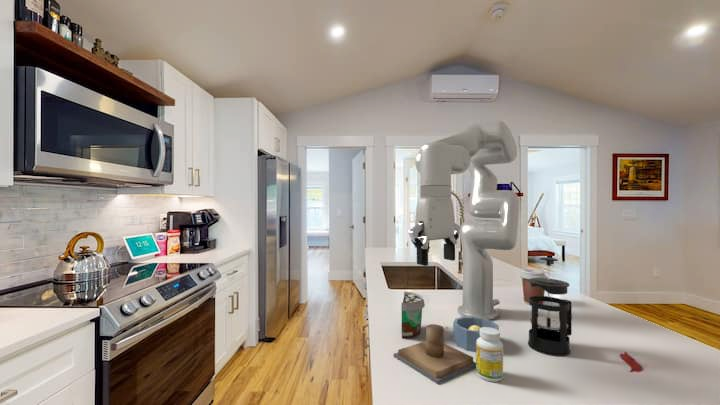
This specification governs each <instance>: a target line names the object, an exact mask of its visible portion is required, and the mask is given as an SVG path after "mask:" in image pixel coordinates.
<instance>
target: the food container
mask: <svg viewBox="0 0 720 405" xmlns="http://www.w3.org/2000/svg"><path fill="white" fill-rule="evenodd" d="M402 299H403V300H402V302H401V339H407V340H408V339H414V338H418V337H419V336H420V335H421V330H422V318H423V308H425V305H426V304H425V300H424V298H423V296H422V295H420V294H418V293H416V292H412V291H411V292H410V291H404V292H403V298H402Z"/></svg>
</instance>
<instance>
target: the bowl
mask: <svg viewBox="0 0 720 405" xmlns="http://www.w3.org/2000/svg"><path fill="white" fill-rule="evenodd" d="M482 327H490V328H494V329H497V330H498V331H499V332H500V330H499V328H500V327H499V324H498V323H496V322H494V321H493V320H487V319H484V318H478V317H465V316H460V317H457V318H455V319H454V320H453V323H452V328H453V329H452V331H453V332H452V336H453V337H452V338H453V340H452V342H454V344H455V345H456V346H457V347H459V348H461V349H463V350H466V351H469V352H473V353H476V341H477V339H478V338H479V337H480V328H482Z"/></svg>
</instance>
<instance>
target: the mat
mask: <svg viewBox="0 0 720 405" xmlns="http://www.w3.org/2000/svg"><path fill="white" fill-rule="evenodd" d="M393 357H394V358H396V359H397V360H399V361H400V362H402V363H404V364H405V365H407V366H408V367H409V368H411V369H412V370H415V371H416V372H417V373H420V374H421V375H423V376H424V377H425V378H427V379H429V380H430V381H432V382H434V383H435V384H437V385H439V384H442V383H443V382H444V383H445V382H446V381H449V380H450V379H453V378H455V377H458V376H459V375H462V374H464V373H467V372H469V371H471V370H474V369H476V361H473V363H471V364H468V365H466V366H464V367H461V368H459V369H457V370H454V371H452V372H450V373H447V374H445V375H442V376H440V377H438V378H435V377H433V376H432V375H430V374H429V373H427V372H425V371H424V370H422V369H420V368H419V367H417V366H415V365H414V364H412V363H411V362H409V361H407V360H406V359H404V358H402V357H401V356H399V355H398V352H395V353H393Z"/></svg>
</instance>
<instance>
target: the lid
mask: <svg viewBox="0 0 720 405" xmlns="http://www.w3.org/2000/svg"><path fill="white" fill-rule="evenodd" d="M444 342H445V329H444V327H443V326H442V325H439V324H434V323H433V324H427V325H426V326H425V341H422V342H419V343H416V344H412V345H409V346H406V347H403V348H401V349H398V350H397V353H398V355H399V356H401V357H402V358H404V359H406V360H407V361H409V362H411V363H412V364H414V365H415V366H417V367H419V368H420V369H422V370H424V371H425V372H427V373H429V374H430V375H432V376H433V377H435V378H438V377H440V376H442V375H445V374H447V373H450V372H452V371H454V370H457V369H459V368H461V367H464V366H466V365H468V364H471V363H473V362H474V357H473V356H472V355H469V354H467V353H466V352H464V351H461V350H459V349H457V348H455V347H453V346H451V345H449V344H446V343H444Z"/></svg>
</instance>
